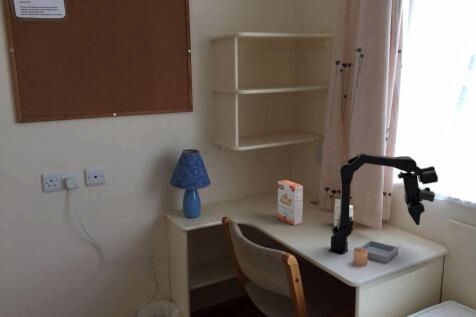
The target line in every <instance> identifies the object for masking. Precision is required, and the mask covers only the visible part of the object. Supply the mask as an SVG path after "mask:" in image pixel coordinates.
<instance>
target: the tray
mask: <svg viewBox="0 0 476 317" xmlns="http://www.w3.org/2000/svg"><path fill="white" fill-rule="evenodd" d="M360 247H361V248H365V249H367V250H368V256H367V260H372V261H375V262H378V263H382V264H385V265H387V264H388V263H389V262H391V261H392V260H393V258H395V257H396V256H398V255H399V248H400V247H399V246H394V245H391V244H387V243H384V242H380V241H375V240H371V239H369V240H368V241H366V242H365V243H363V244H362V245H360Z"/></svg>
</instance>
